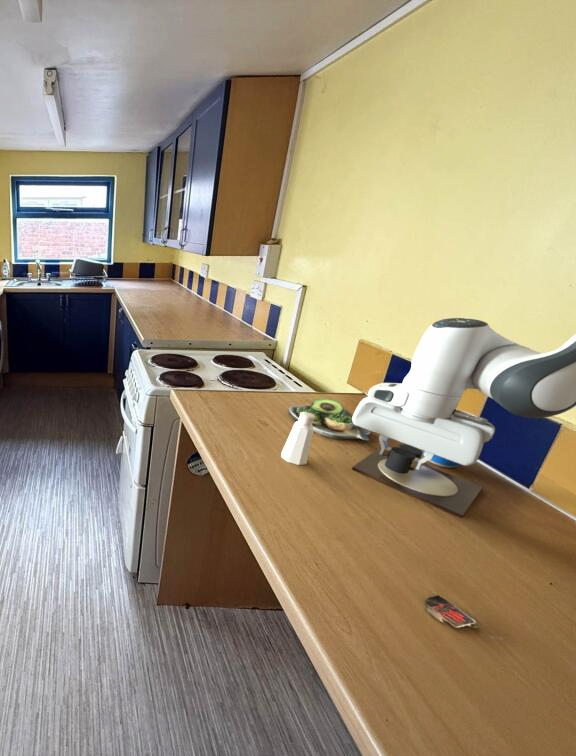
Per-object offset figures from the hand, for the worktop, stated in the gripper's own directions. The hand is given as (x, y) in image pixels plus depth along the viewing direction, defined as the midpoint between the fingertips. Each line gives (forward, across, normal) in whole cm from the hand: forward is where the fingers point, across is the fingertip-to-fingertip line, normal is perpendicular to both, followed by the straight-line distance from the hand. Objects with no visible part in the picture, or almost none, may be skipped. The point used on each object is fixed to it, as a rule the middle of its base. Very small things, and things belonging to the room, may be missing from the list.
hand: (399, 461), depth 84 cm
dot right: (+2, 0, 0) cm, 2 cm away
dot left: (+3, 0, -6) cm, 7 cm away
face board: (+4, -3, -3) cm, 6 cm away
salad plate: (+4, +19, -14) cm, 24 cm away
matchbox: (+4, -16, +34) cm, 38 cm away
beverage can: (+4, -4, -17) cm, 18 cm away
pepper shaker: (+4, +15, +12) cm, 20 cm away
